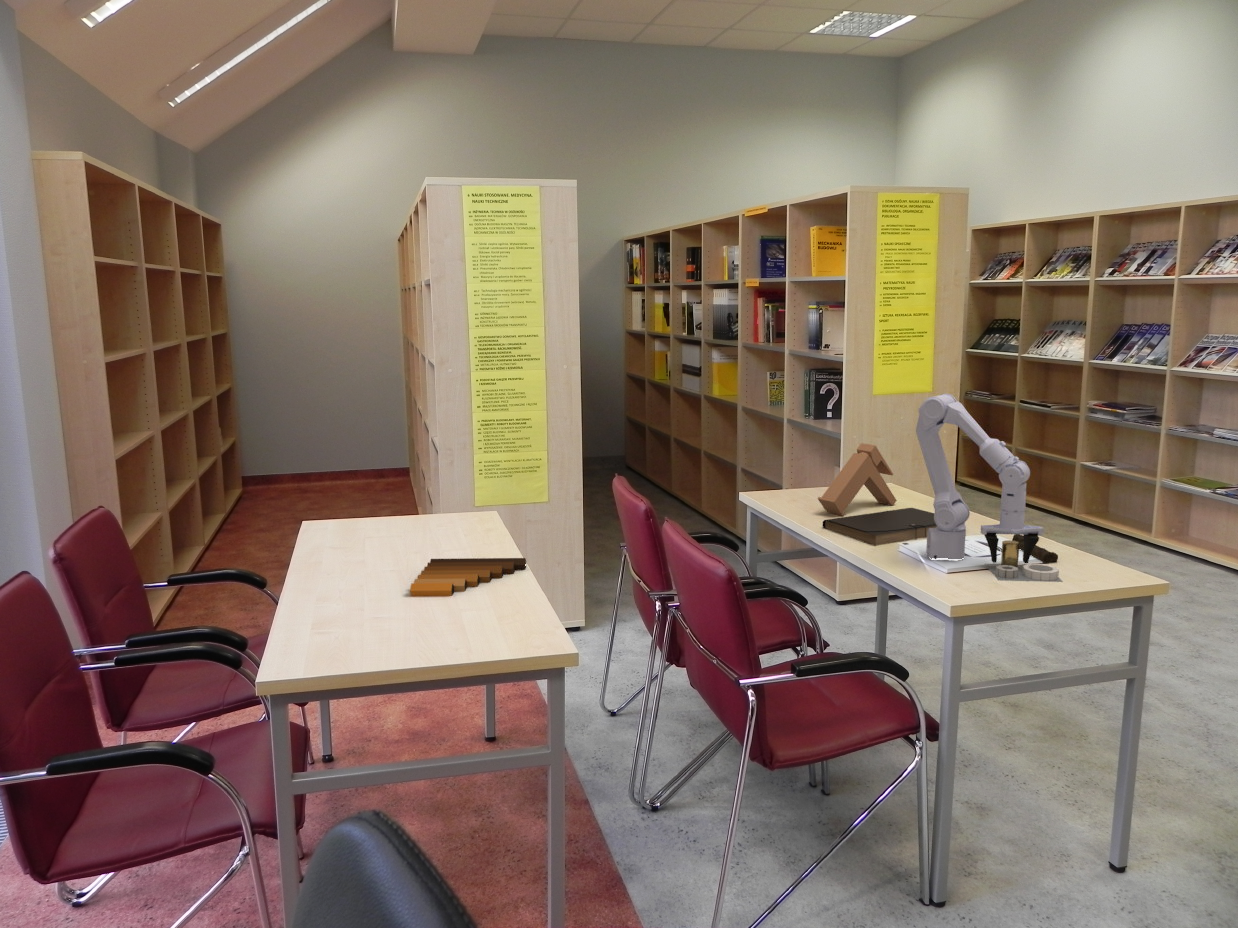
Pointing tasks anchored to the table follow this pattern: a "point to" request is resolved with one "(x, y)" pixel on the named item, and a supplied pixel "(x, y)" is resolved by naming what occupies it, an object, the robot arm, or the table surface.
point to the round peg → (1010, 553)
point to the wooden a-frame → (858, 481)
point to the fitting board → (1025, 572)
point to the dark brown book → (884, 526)
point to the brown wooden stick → (1037, 551)
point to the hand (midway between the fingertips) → (1009, 561)
